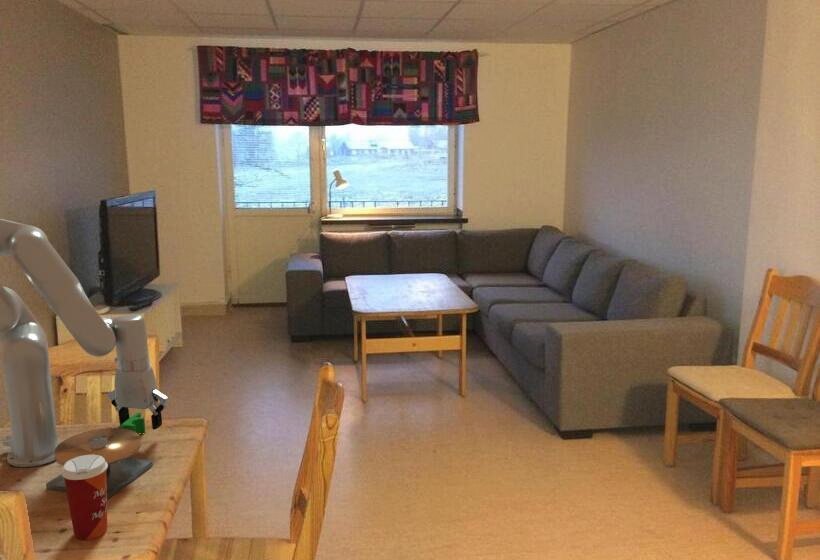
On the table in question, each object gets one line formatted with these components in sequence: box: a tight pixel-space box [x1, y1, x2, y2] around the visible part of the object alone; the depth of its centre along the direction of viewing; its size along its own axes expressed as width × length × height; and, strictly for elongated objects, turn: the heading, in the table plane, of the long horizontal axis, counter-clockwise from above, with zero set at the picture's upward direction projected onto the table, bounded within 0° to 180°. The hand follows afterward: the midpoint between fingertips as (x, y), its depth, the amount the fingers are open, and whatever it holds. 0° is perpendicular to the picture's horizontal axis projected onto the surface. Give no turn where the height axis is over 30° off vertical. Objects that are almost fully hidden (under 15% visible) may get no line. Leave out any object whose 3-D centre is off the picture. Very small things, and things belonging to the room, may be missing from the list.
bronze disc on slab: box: [45, 427, 154, 500], centre depth 160 cm, size 18×18×10 cm
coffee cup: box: [61, 455, 108, 541], centre depth 138 cm, size 8×8×15 cm
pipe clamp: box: [116, 412, 146, 434], centre depth 182 cm, size 11×4×5 cm, turn 173°
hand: (141, 425), depth 181 cm, fingers open, 9 cm apart
